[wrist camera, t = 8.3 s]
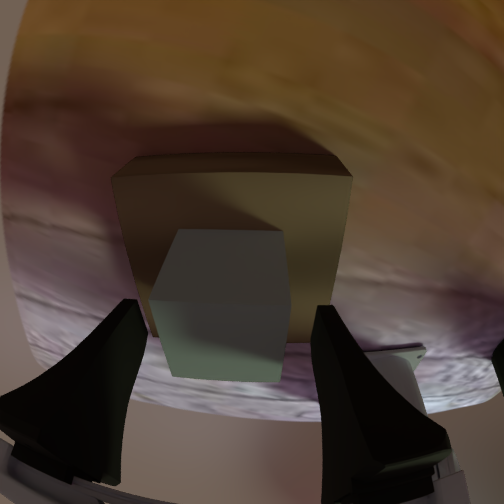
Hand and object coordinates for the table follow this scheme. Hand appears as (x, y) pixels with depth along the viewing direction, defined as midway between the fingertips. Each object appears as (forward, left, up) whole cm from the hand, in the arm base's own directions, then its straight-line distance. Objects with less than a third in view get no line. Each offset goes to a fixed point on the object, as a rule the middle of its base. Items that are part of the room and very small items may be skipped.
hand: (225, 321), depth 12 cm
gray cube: (0, 0, -3) cm, 3 cm away
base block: (0, 0, -6) cm, 6 cm away
